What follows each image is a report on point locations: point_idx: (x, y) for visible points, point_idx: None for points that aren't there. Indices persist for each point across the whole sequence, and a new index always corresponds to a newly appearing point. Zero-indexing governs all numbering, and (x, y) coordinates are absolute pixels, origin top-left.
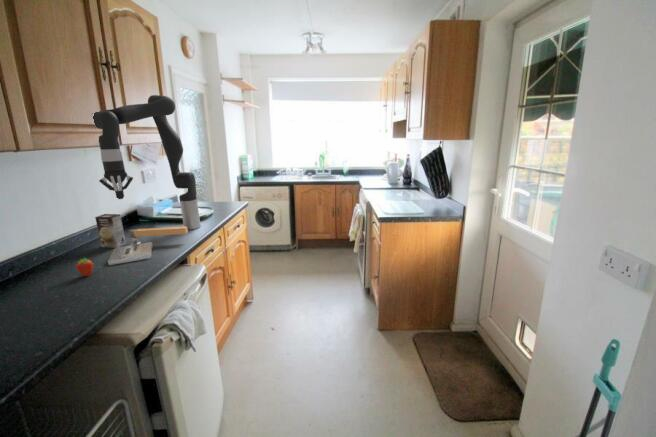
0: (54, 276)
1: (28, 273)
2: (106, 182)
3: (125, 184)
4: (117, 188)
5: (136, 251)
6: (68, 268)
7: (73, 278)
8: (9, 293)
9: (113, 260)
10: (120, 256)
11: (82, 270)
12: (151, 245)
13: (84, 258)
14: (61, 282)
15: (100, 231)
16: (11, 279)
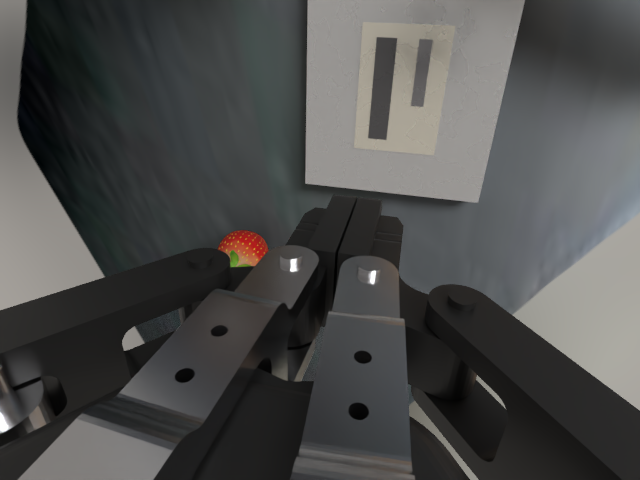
0: (151, 178)
1: (43, 86)
2: (52, 373)
3: (465, 456)
4: (306, 325)
5: (423, 125)
6: (165, 116)
7: (219, 235)
8: (90, 242)
9: (326, 185)
10: (350, 151)
11: None
12: (515, 40)
13: (230, 253)
14: (195, 246)
15: None
16: (23, 121)
